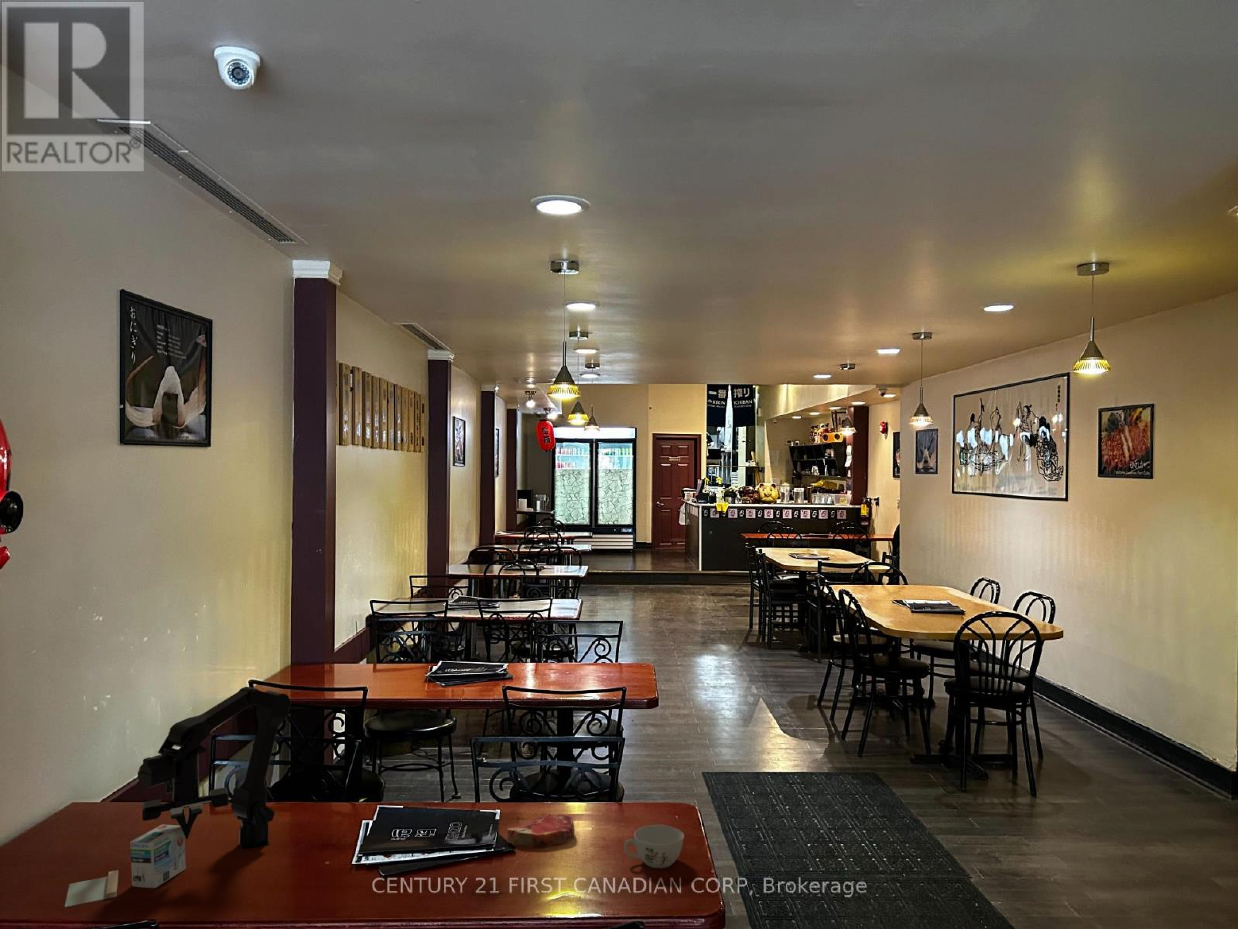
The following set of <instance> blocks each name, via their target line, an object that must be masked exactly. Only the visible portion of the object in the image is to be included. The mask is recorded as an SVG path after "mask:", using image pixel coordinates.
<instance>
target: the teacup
mask: <svg viewBox="0 0 1238 929" xmlns="http://www.w3.org/2000/svg"><path fill="white" fill-rule="evenodd" d="M684 839H685V834H684V833H683V832H682V831H681V830H680V829H678V828H676V827H673V826H670V825H666V824H650V825H645V826H642V827H639V828H638V829H636V830H635V832H634V833H633V838H627V839H626V840H625V842H624V844H623V845H624V846H623V847H624V848H623V850H624V852H625V854H626V855H628V856H629V857H632V858H636V859H637V858H638V859H640V860H641V861H642V862H643V863H644V864H645V865H647V867H650V868H653V869H666V868H668V867H671V866H672V865H673V864H674V863H675V862H676V861H677V859H678V858H679V855H680V853H681V851H682V848H683V843H684ZM630 844H632V845H633V847H634V849H636V852H637V854H635V853H632V852H630V851H629V850H628V845H630Z"/></svg>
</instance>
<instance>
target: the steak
mask: <svg viewBox="0 0 1238 929" xmlns="http://www.w3.org/2000/svg"><path fill="white" fill-rule="evenodd" d="M574 824H575V822H574V819H573V817H571V816H570V815H566V814H556V815H553V816H552V814H551V813H547V814H546V815H542V816H539V817H537V818H536V819H534V820H533V821H532V822H530V823H527V824H525V825H521V826H515V827H508V828H507V829H506V834H507V842H508V841H509V842H511V843H513V844H515V845H514V846H519V845H522V846H521V847H530V848H538V849H539V848H540V849H541V848H542V849H545V848H550V847H556V846H562V845H565V844H567V843H569V842H571V841H572V840H573V839H574V836H575V825H574Z"/></svg>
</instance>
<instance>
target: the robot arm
mask: <svg viewBox="0 0 1238 929" xmlns="http://www.w3.org/2000/svg"><path fill="white" fill-rule="evenodd" d="M291 702H292V700H291V699H290V697H289V696H288V695H287V694H285V693H282V692H277V691H273V690H266V691H263V690H259V689H258V688H255V687H249V686H244V687H241V688H240V689H239V690H238V691H237V692H236V693H234V694H231V695H230V696H229V697H227V698H226V699H224V700H222V701H221V702H220V703H218V704H216V705H214V706H213V707H211V708H210V709H208V710H206V711H205V712H203V713H200V714H199V715H196V716H191V717H188V718H187V717H186V718H185V719H183V720H180V721H178V722H175V723H174V724H173V725H172V726H170V728H169V731H168V735H166V738H165V739H164V741H163V743H162V744H161V746H160V748H159V750H158V751H157V753H158V755H155V756H151V757H150V756H149V757H145V758H143V759H142V764H141V765H140V766H139V768H138V771H137V779H138V782H139V785H140V786H141V787H142V788H143V789H145V790H146V789H151V788H153V787H156V786H158V785H162V784H165V793H166V794H172V801H169V802H164V803H162V799H161V798H159V799H153V800H148V801H144V803H142V809H141V810H142V813H141V814H142V821H143V822H146V821H151V820H157V819H159V817H160V816H161V815H162V813H163V812H168V811H169V812H170V819H171V820H176V822H177V823H178V824H179V825H180V826H181V828H182V831H183V833H184V839H185V840H188V839H189V836H190V833H191V831H192V828H193V825H194V823H195V821H196V819H197V817H198V815H202V814H203V805H206V804H210V805H211V806H212V807H213V808H215V809H217V808H221V807H226V806H228V805H229V804H230V805H231V806H230V810H231V811H232V813H233V814H234V815H235V816H236V819H237V820H239V821H241V825H240V826H239V827H238V828H239V829H238V837H239V838H238V843H239V846H241V849H242V850H243V851H246V850H250V849H256V848H260V847H266V846H269V845H270V841H269V823H270V822H271V821H273V820H274V816H275V810H273V809H271V808H270V807H268V806H267V797H268V793H267V789H266V785H265V784H266V783H265V782H266V778H267V774H268V768H269V765H270V761H271V758H272V757H271V756H272V753H273V749H274V744H275V741H276V737H277V736H276V735H277V731H278V729H279V727H280V726H281V725H282V723H283V722H284V721H285V720H286V718H287V715H288V713H289V710H290V707H291V705H292V703H291ZM252 705H253V706H256V709H255V715H256V718H257V723H258V726H257V730H256V734H255V739H254V743H253V746H252V750H251V754H250V758H249V761H248V767H247V769H246V770H247V771H246V774H245V777H244V781H243V782H242V783H241V785H239V787H238V786H235V787H234V788H233V791H232V797H231V799H230V796H229V790H228V788H226V787H221V788H214V789H210V791H209V794H208V795H202V796H200V776H199V775H200V773H199V772H200V769H199V768H200V764H199V760H200V759H199V756H200V755H201V754H203V753H206V752H208V749H207V748H206V747H205V746H203V745H202V743H204V742H205V740H207V739H208V738H209V735H210V734H211V733H212V731H213V730H214V729H216V728H217V727H219V726H221V725H222V724H224V723H225V722H227V721H228V720H230V719H231V718H232V717H235V715H237V714H239V713H241V712H242V711H244V710H245V709H247V708H248V707H250V706H252ZM174 746H175V747H178V748H179V749H177V748H174ZM185 808H187V809H188V810H187V818H186V812H185Z"/></svg>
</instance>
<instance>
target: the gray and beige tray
mask: <svg viewBox="0 0 1238 929" xmlns="http://www.w3.org/2000/svg"><path fill="white" fill-rule="evenodd" d="M118 884H119V870H118V869H117V870H112V871H108V876H104V877H99V878H93V879H89V880H84V881H83V880H82V881H78V882H73V883H69V885H68V889H67V892H66V893H67V894H66V899H65V903H64V908H67V907H73V906H77V905H82V904H86V903H87V904H88V903H92V902H98V901H101V900H103V901H104V900H107V899H112V898H117V892H118Z"/></svg>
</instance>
